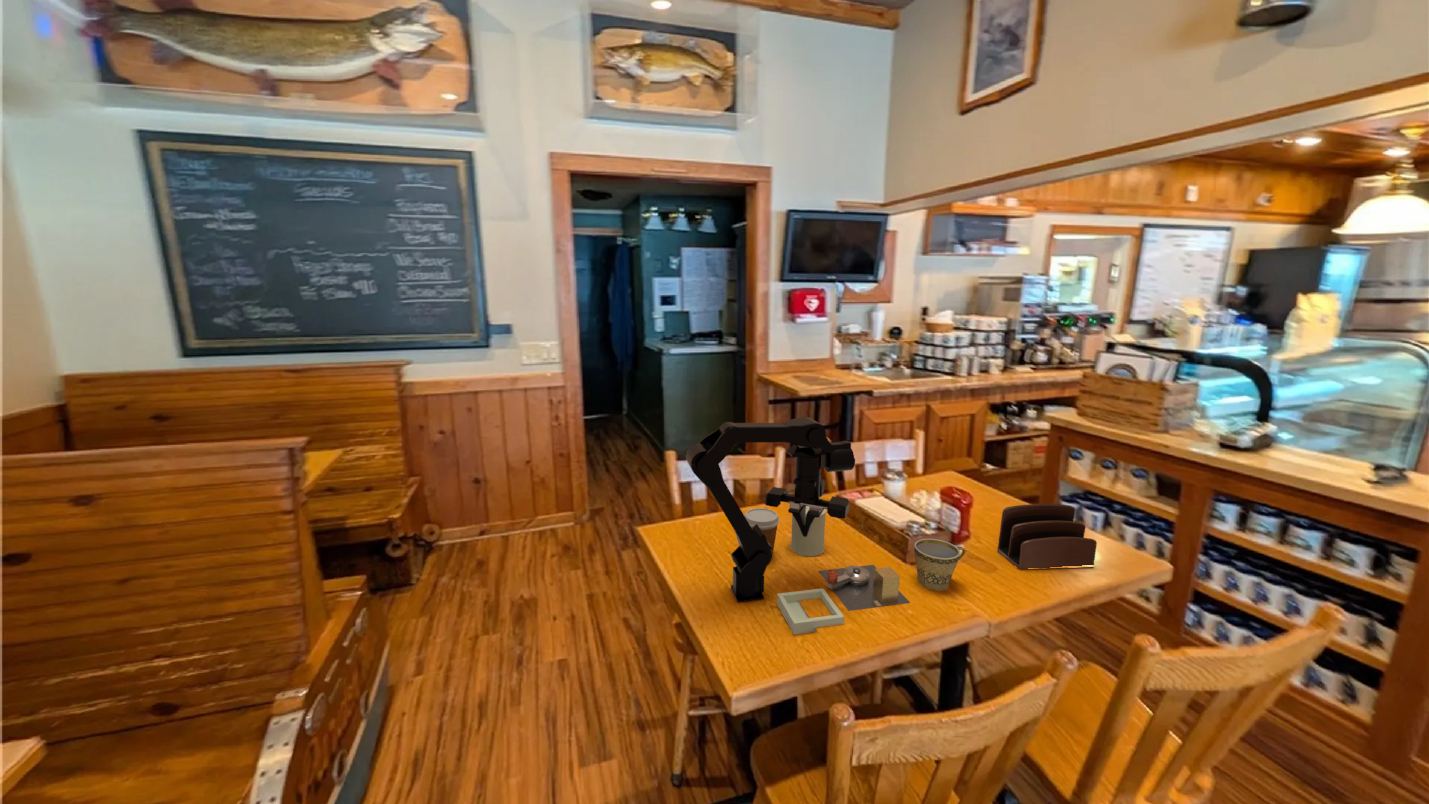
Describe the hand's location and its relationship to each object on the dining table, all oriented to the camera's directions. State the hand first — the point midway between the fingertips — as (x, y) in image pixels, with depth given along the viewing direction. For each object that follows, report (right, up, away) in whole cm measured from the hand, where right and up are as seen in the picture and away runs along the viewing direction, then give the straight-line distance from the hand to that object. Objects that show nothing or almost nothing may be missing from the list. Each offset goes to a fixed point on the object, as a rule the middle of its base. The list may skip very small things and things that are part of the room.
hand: (805, 536), depth 124 cm
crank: (+10, -11, +2) cm, 15 cm away
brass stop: (+18, -13, -3) cm, 22 cm away
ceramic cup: (+33, -13, +3) cm, 35 cm away
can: (+4, -9, +21) cm, 24 cm away
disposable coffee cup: (-9, -10, +17) cm, 21 cm away
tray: (-1, -15, -9) cm, 17 cm away
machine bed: (+14, -13, +1) cm, 19 cm away
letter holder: (+65, -10, +15) cm, 68 cm away
